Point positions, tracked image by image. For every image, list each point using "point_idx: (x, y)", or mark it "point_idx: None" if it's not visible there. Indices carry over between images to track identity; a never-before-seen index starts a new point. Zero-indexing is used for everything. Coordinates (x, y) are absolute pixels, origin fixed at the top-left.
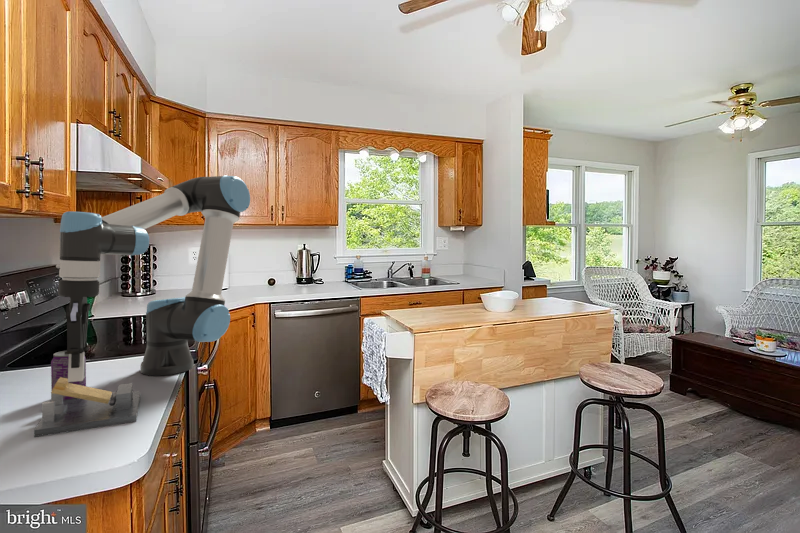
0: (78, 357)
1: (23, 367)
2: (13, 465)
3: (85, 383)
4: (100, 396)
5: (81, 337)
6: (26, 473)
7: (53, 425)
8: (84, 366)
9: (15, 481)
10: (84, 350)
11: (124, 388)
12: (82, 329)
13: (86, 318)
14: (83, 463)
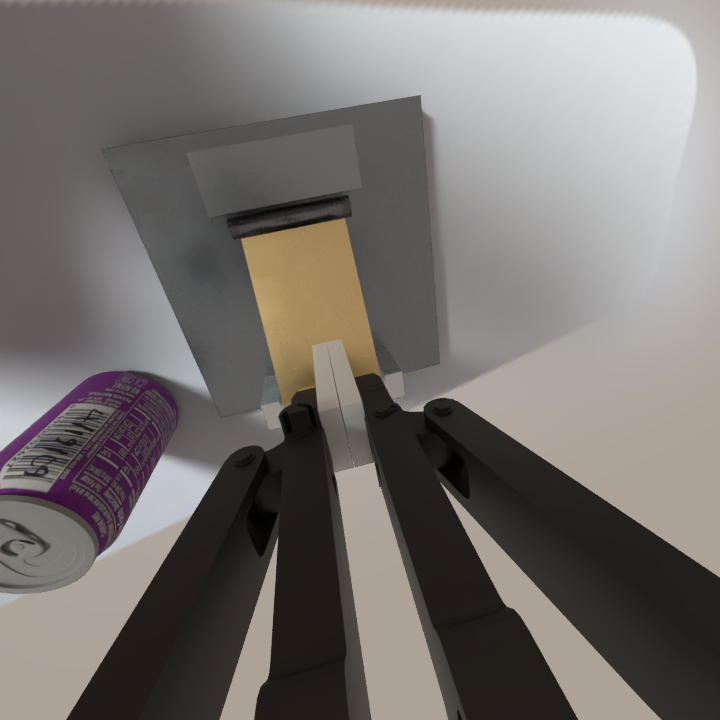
0: (392, 400)
1: None
2: (564, 327)
3: (87, 390)
4: (336, 256)
5: (497, 466)
6: (613, 286)
7: (423, 334)
8: (48, 435)
9: (635, 290)
10: (314, 418)
11: (278, 172)
12: (471, 543)
13: (494, 713)
14: (634, 182)
